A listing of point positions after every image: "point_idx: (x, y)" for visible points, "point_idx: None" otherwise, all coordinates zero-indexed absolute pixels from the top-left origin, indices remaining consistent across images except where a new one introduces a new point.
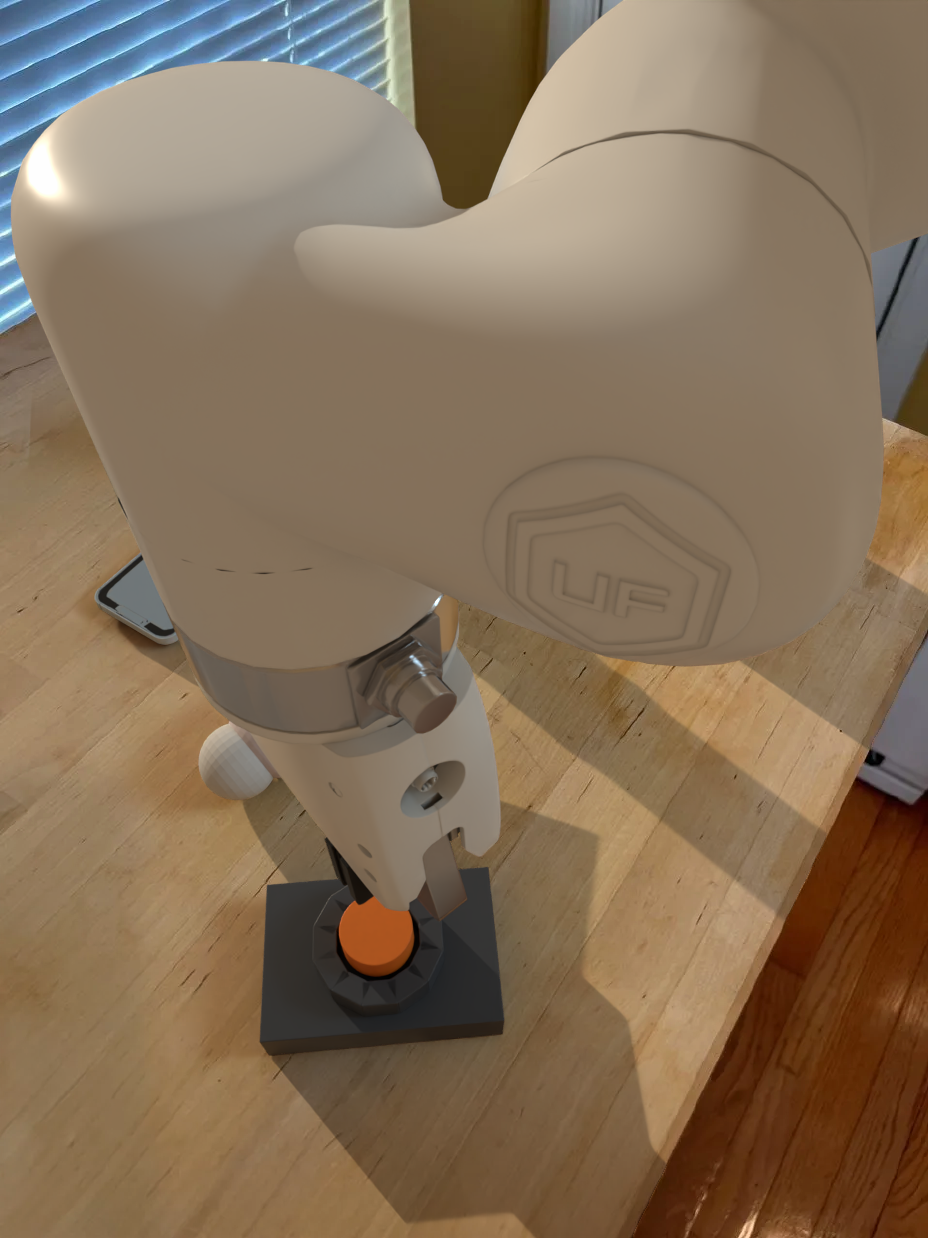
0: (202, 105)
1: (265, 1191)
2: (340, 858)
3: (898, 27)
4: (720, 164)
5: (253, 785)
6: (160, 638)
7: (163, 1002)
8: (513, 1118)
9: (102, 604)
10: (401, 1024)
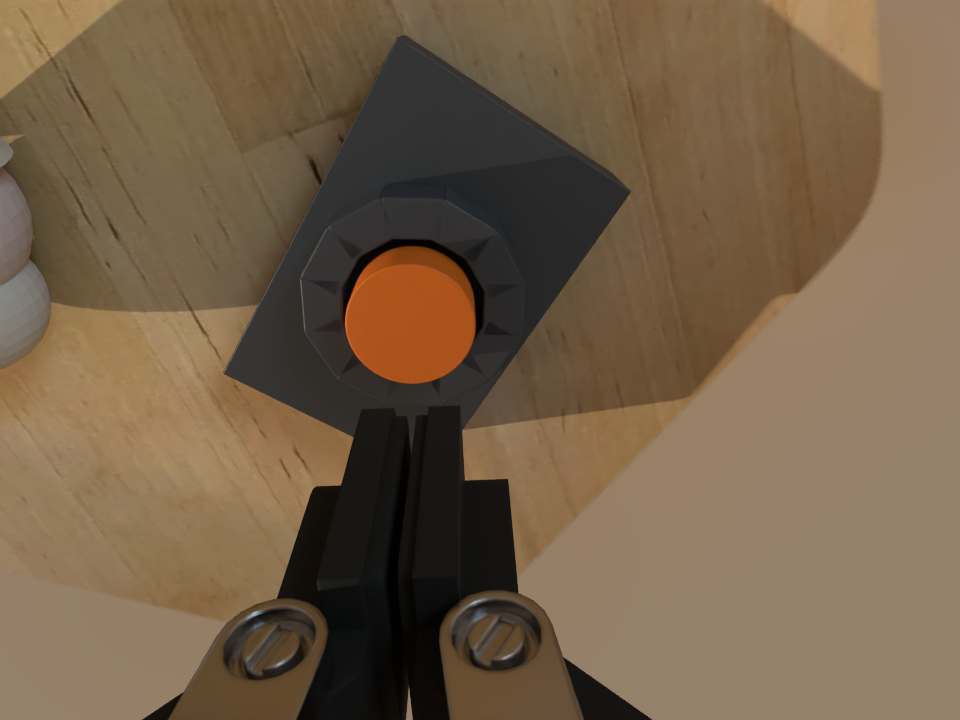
0: None
1: (556, 495)
2: (407, 697)
3: None
4: None
5: (30, 312)
6: None
7: (299, 501)
8: (703, 230)
9: None
10: (530, 320)
